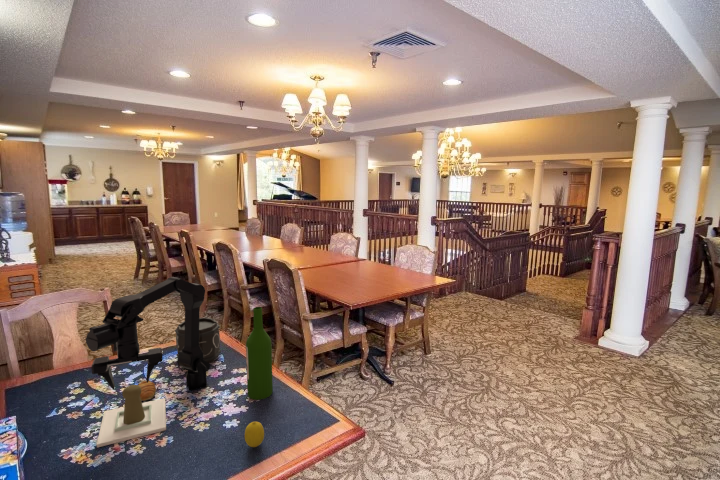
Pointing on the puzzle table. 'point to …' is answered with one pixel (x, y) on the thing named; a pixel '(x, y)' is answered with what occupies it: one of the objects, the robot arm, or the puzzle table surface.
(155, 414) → the cream flat square slab
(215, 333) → the dark grey round container
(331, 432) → the puzzle table surface
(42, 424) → the puzzle table surface
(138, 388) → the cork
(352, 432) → the puzzle table surface
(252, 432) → the lemon
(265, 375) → the wine bottle
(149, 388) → the pastry
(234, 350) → the puzzle table surface
